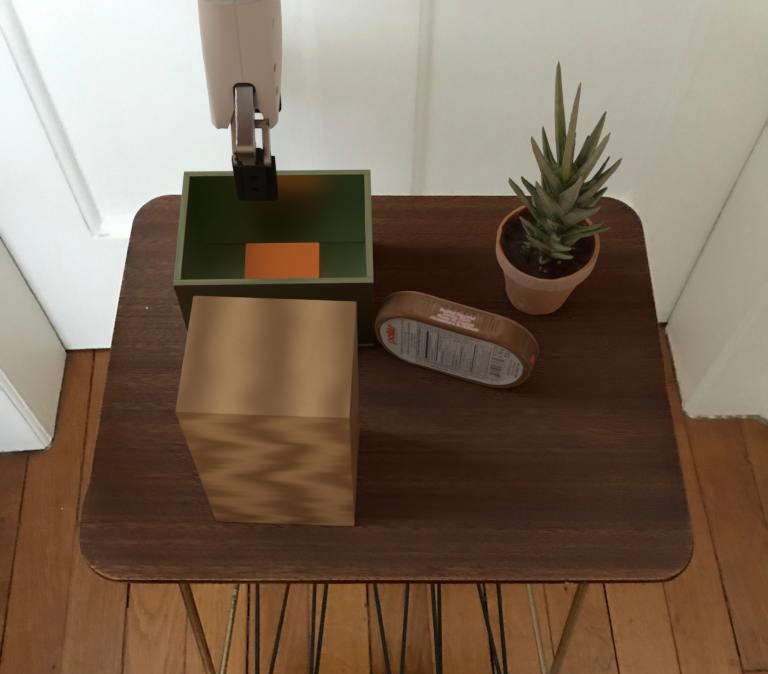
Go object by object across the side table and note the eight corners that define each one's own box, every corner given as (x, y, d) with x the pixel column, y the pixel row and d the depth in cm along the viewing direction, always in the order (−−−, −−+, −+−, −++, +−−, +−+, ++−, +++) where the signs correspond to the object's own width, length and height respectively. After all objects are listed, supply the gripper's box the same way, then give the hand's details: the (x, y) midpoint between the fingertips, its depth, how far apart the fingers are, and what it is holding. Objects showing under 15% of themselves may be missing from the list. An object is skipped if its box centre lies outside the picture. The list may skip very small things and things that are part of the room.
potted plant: (487, 252, 91) (524, 30, 69) (580, 255, 91) (648, 35, 69) (488, 332, 87) (528, 124, 65) (586, 336, 87) (660, 128, 65)
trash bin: (373, 348, 86) (373, 282, 77) (193, 351, 86) (173, 285, 77) (370, 241, 92) (370, 169, 83) (201, 244, 91) (183, 171, 83)
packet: (249, 311, 87) (243, 284, 83) (251, 271, 89) (245, 243, 85) (321, 310, 87) (319, 283, 83) (321, 270, 89) (319, 242, 86)
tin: (531, 377, 85) (547, 321, 77) (523, 403, 83) (538, 350, 76) (381, 333, 87) (382, 275, 79) (370, 359, 85) (370, 302, 78)
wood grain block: (216, 521, 78) (175, 411, 62) (228, 422, 82) (193, 295, 66) (354, 526, 78) (349, 417, 62) (359, 427, 82) (356, 301, 66)
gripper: (185, -142, 61) (219, 79, 76) (164, 28, 53) (207, 235, 68) (296, -140, 61) (308, 79, 76) (292, 29, 53) (305, 235, 69)
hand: (260, 153), depth 72 cm, fingers open, 9 cm apart
